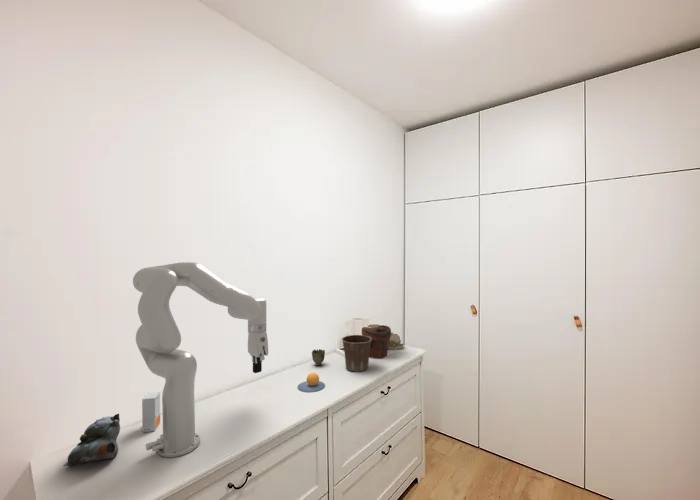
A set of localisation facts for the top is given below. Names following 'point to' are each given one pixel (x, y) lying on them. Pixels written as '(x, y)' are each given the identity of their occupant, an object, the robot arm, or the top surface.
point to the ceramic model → (395, 342)
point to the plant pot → (356, 352)
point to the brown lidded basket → (378, 340)
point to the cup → (318, 356)
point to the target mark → (310, 387)
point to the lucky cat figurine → (97, 442)
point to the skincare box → (150, 412)
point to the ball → (312, 379)
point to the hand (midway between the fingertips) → (257, 371)
